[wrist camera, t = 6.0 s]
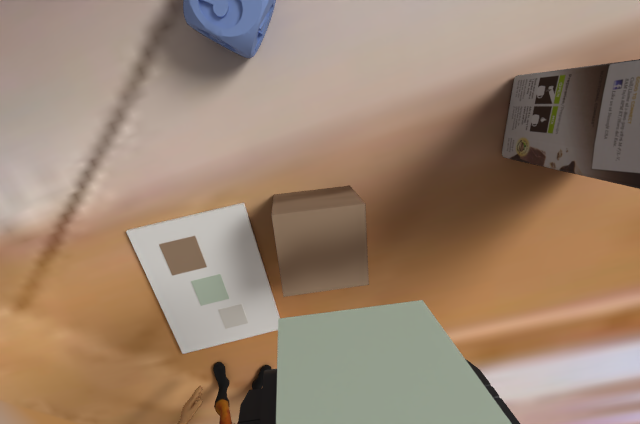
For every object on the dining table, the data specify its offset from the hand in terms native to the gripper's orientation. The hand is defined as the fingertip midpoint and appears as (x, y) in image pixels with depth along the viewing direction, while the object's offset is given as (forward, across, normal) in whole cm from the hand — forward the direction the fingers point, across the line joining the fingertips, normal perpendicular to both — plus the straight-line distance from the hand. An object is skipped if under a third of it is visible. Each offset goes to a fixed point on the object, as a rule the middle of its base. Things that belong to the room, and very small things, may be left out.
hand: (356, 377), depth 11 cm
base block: (+15, 0, 0) cm, 15 cm away
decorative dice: (+15, +4, -15) cm, 22 cm away
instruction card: (+15, +9, +4) cm, 18 cm away
